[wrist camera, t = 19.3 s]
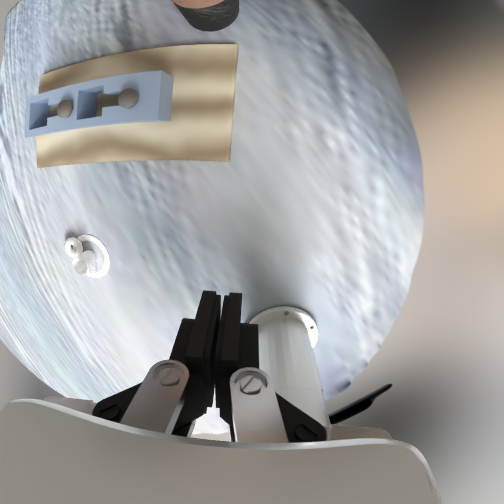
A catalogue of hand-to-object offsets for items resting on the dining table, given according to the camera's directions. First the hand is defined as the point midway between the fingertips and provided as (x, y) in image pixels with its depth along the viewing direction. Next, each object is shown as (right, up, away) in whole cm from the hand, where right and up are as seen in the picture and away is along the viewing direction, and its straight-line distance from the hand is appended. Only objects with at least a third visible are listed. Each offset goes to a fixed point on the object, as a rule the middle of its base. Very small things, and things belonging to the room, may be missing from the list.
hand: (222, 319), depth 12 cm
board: (-17, +23, +19) cm, 35 cm away
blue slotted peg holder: (-20, +23, +18) cm, 35 cm away
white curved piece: (-25, +5, +28) cm, 38 cm away
